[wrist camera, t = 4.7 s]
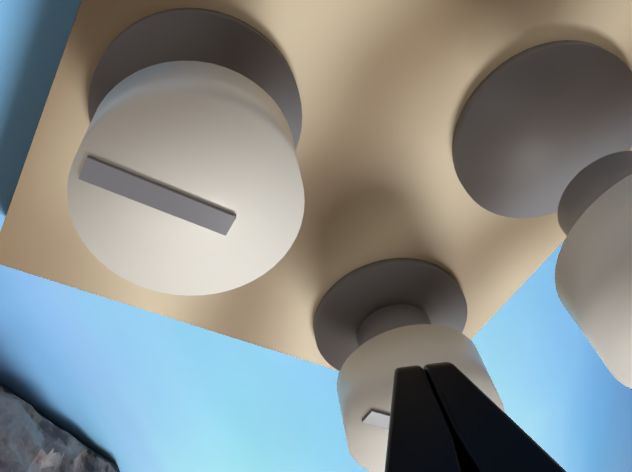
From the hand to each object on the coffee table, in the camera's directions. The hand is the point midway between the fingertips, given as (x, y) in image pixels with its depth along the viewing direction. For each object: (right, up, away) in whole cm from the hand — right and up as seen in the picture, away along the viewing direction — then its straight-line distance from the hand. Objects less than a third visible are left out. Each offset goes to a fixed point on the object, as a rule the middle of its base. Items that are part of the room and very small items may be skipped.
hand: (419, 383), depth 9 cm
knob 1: (-5, +5, +6) cm, 9 cm away
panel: (-1, +6, +10) cm, 11 cm away
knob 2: (+1, -1, +12) cm, 12 cm away
